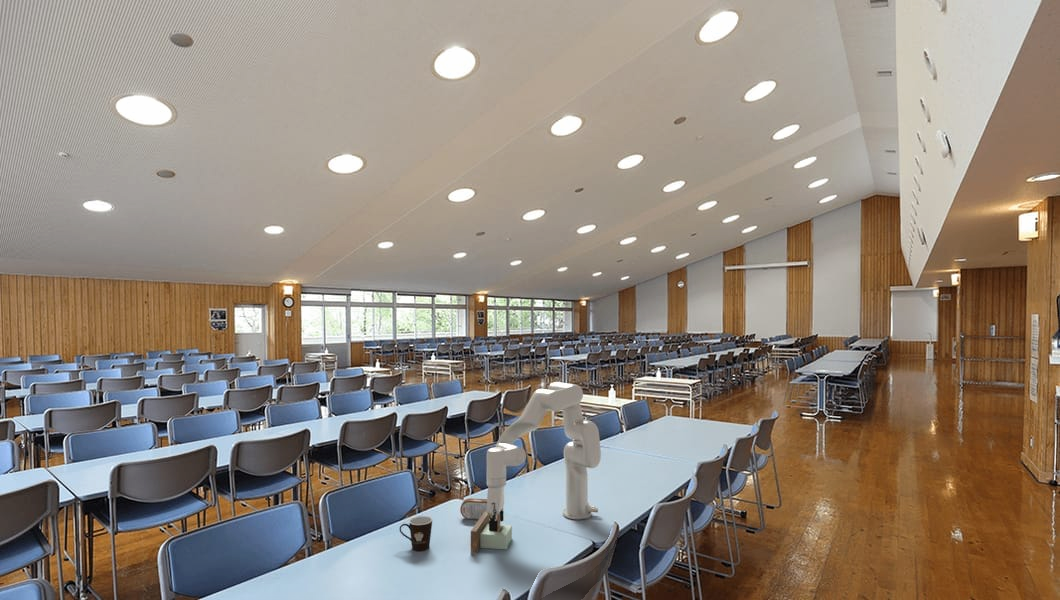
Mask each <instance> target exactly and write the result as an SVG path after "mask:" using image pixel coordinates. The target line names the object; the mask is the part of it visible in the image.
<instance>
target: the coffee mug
mask: <svg viewBox="0 0 1060 600" xmlns="http://www.w3.org/2000/svg"><path fill="white" fill-rule="evenodd" d="M408 522H409V524H407V523H402V524H401V525H400V526H399V532H400V534H401V535H402V536H403V537H405V538H406V539H408V540H409V541H410V542H411V549H412V550H413V551H414V552H415V551H416V552H423V551H427V550H428V549H430V546H431V545H430V543H431V537H432V527H433V518H432V517H431V516H427V515H426V516H425V515H420V516H415V517H412V518H411V519H409V521H408ZM404 526H407V527H408V529H409V533H410V537H409V535H407V534H405V533H404V532H403V531H402V527H404Z"/></svg>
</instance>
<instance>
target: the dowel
mask: <svg viewBox="0 0 1060 600" xmlns="http://www.w3.org/2000/svg"><path fill="white" fill-rule="evenodd" d="M493 515H494V516H495V514H493ZM497 520H498V531H497V532H500V525H501V521H500V513H499V514H498V515H497ZM493 532H496V531H493Z"/></svg>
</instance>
